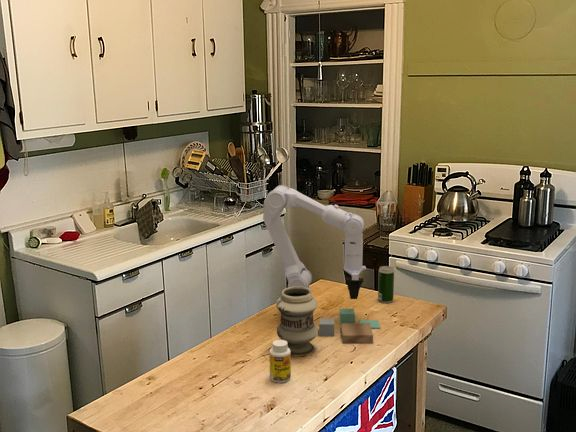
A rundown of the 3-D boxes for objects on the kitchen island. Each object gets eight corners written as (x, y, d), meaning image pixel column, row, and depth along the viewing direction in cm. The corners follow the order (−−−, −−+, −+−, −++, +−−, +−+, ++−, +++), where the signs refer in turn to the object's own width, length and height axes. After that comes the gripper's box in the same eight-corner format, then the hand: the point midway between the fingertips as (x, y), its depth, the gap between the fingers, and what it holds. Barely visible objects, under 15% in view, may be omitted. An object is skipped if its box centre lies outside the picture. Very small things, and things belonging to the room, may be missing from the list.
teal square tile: (361, 328, 195) (361, 327, 195) (359, 321, 201) (359, 320, 201) (380, 328, 195) (380, 327, 195) (377, 321, 201) (377, 319, 201)
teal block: (340, 325, 198) (340, 314, 197) (339, 320, 202) (339, 308, 201) (354, 325, 198) (354, 314, 197) (353, 320, 202) (353, 308, 201)
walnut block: (342, 344, 185) (342, 335, 184) (340, 332, 194) (340, 323, 193) (372, 344, 185) (373, 335, 184) (369, 332, 193) (369, 323, 193)
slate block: (319, 336, 190) (319, 324, 189) (318, 330, 194) (318, 318, 193) (334, 336, 190) (334, 324, 189) (333, 330, 194) (333, 318, 193)
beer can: (385, 304, 214) (385, 271, 212) (374, 300, 219) (375, 267, 216) (396, 301, 217) (397, 268, 214) (386, 296, 222) (387, 264, 219)
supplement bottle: (272, 384, 161) (271, 348, 159) (268, 374, 167) (267, 339, 164) (293, 382, 162) (292, 346, 160) (288, 372, 168) (287, 337, 165)
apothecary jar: (270, 354, 178) (269, 295, 174) (285, 337, 189) (284, 281, 185) (310, 360, 174) (310, 300, 170) (323, 343, 185) (323, 286, 181)
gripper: (368, 260, 188) (367, 302, 191) (363, 247, 202) (362, 286, 205) (345, 260, 188) (344, 302, 191) (342, 247, 202) (341, 286, 205)
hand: (352, 294), depth 198 cm, fingers open, 7 cm apart
